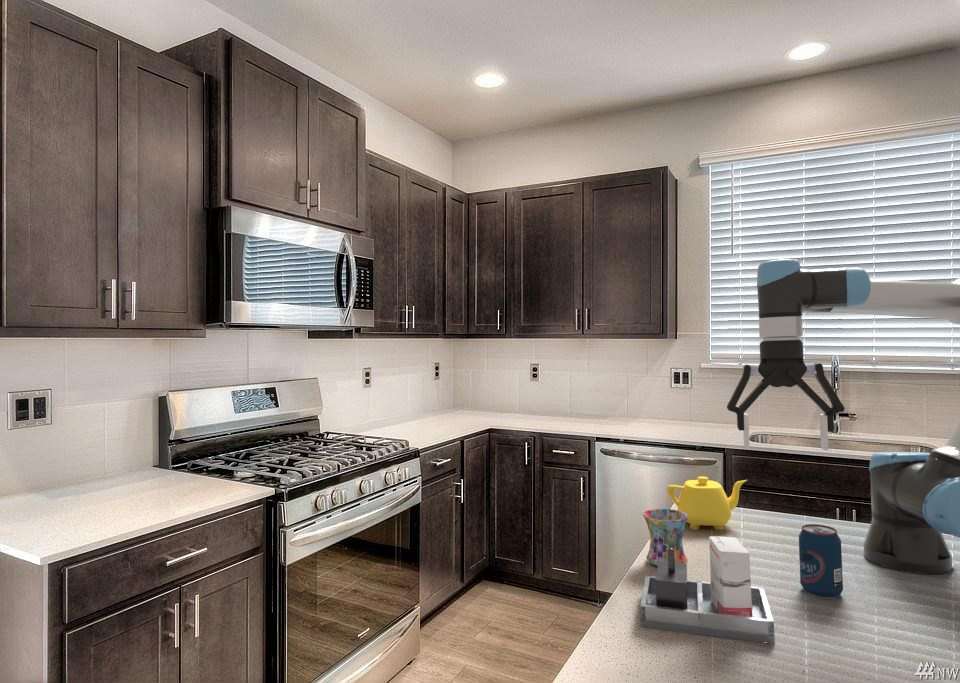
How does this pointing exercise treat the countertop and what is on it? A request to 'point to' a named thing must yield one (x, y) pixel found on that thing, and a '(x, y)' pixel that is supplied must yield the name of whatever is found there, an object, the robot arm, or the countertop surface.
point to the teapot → (705, 502)
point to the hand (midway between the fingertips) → (784, 448)
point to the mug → (665, 534)
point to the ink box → (730, 576)
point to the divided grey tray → (699, 607)
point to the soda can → (820, 561)
